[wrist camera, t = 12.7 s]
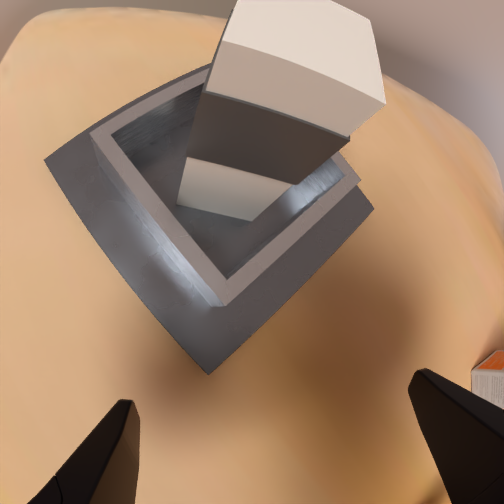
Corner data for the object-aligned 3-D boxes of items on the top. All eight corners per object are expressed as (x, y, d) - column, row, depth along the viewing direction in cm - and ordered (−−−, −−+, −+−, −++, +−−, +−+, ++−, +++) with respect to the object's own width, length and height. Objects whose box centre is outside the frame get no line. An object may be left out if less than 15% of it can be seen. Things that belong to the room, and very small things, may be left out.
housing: (206, 373, 16) (221, 390, 13) (46, 164, 16) (26, 131, 12) (369, 210, 22) (406, 193, 18) (233, 58, 21) (248, 22, 17)
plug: (253, 223, 18) (389, 108, 7) (174, 205, 17) (216, 41, 6) (263, 155, 19) (371, 20, 8) (192, 136, 18) (248, -31, 7)
